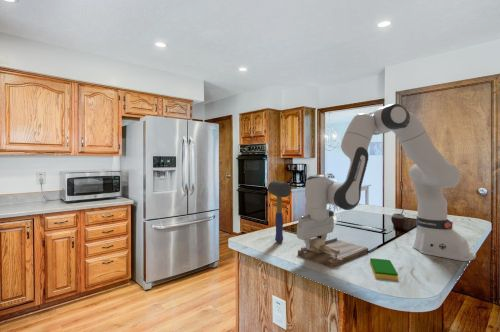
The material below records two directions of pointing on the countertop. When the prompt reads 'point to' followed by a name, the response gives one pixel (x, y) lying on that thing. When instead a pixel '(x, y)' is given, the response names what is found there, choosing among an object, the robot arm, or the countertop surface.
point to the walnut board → (329, 259)
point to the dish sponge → (383, 269)
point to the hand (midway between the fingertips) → (315, 246)
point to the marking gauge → (321, 246)
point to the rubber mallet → (279, 205)
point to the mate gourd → (398, 220)
